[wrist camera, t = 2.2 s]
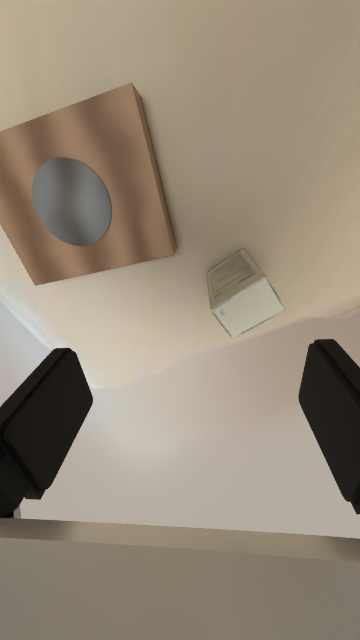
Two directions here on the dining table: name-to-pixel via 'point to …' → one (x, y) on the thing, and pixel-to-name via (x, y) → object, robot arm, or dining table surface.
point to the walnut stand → (84, 189)
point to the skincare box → (241, 294)
